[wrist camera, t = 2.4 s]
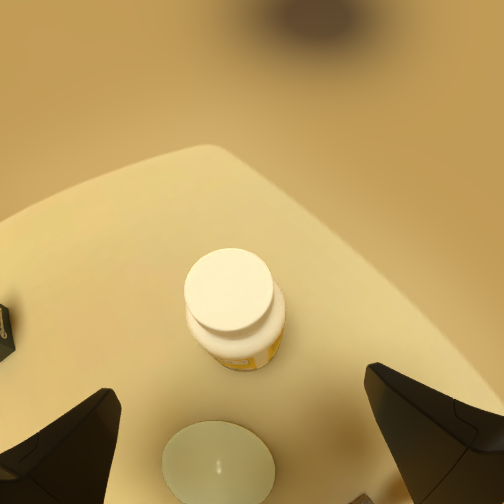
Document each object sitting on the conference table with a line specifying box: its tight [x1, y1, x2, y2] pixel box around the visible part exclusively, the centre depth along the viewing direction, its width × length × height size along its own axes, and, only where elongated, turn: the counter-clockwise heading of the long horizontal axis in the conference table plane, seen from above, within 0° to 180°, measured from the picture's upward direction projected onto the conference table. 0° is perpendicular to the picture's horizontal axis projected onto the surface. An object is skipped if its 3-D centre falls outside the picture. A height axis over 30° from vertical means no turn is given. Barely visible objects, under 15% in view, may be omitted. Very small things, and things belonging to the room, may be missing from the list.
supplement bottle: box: [184, 248, 286, 372], centre depth 16 cm, size 5×5×10 cm
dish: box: [162, 421, 275, 504], centre depth 15 cm, size 8×8×1 cm
